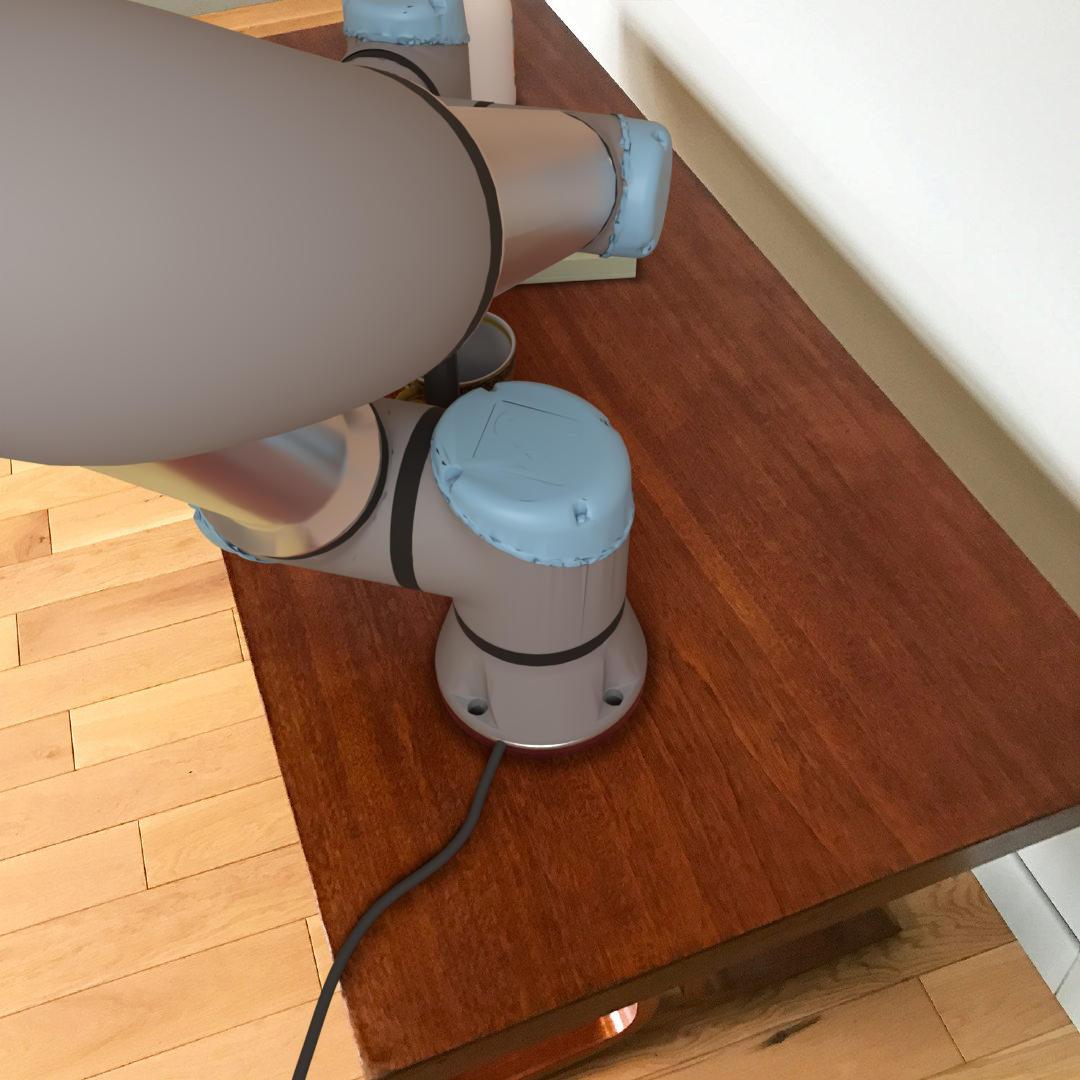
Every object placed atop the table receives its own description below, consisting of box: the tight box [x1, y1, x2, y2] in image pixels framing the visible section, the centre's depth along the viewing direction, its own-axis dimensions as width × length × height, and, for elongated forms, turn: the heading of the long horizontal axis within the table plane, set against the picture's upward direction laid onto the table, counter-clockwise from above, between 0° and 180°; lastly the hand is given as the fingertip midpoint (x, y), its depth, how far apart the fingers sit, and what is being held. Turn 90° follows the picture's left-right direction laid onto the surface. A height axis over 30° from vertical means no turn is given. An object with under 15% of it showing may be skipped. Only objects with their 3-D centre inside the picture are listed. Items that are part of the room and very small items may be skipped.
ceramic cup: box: [395, 311, 517, 404], centre depth 93 cm, size 13×10×10 cm
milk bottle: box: [463, 0, 517, 105], centre depth 127 cm, size 8×8×20 cm
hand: (451, 421), depth 95 cm, fingers open, 13 cm apart
